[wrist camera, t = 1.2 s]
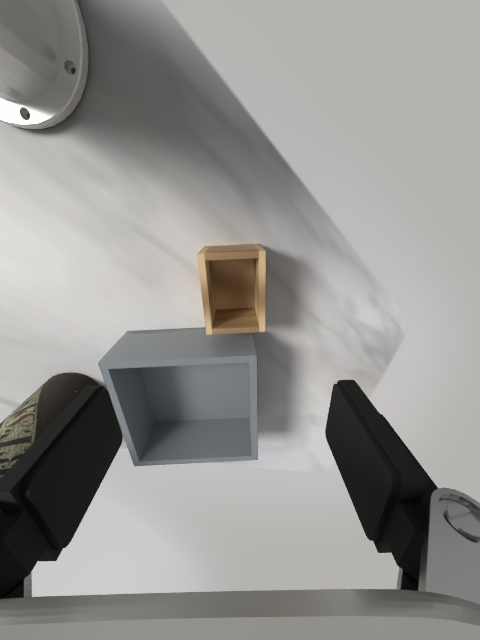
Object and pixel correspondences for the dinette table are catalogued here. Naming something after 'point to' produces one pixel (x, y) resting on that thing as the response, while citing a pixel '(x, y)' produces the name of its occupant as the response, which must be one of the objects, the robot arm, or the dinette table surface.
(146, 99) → the dinette table surface
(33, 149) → the dinette table surface
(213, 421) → the grey crate
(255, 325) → the wooden crate
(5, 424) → the container
